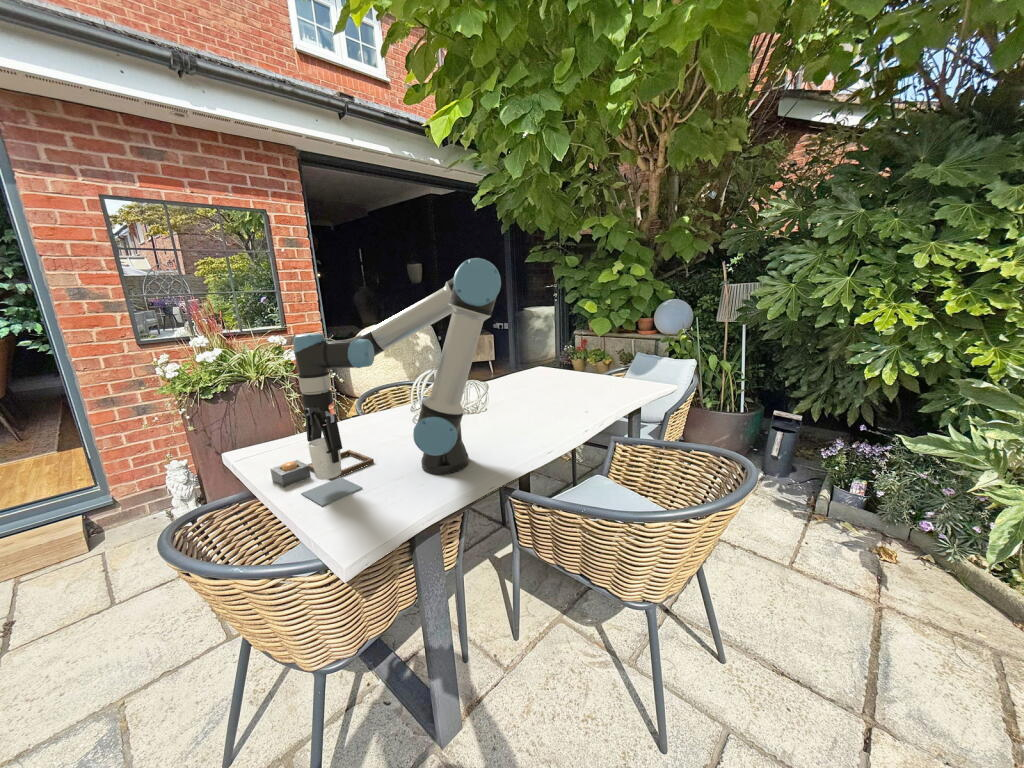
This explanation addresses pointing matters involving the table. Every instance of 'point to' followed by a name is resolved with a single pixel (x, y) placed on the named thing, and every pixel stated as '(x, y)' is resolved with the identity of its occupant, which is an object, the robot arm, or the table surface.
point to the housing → (290, 474)
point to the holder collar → (365, 461)
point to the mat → (331, 491)
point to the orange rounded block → (289, 466)
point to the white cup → (321, 459)
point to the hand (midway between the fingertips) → (328, 469)
